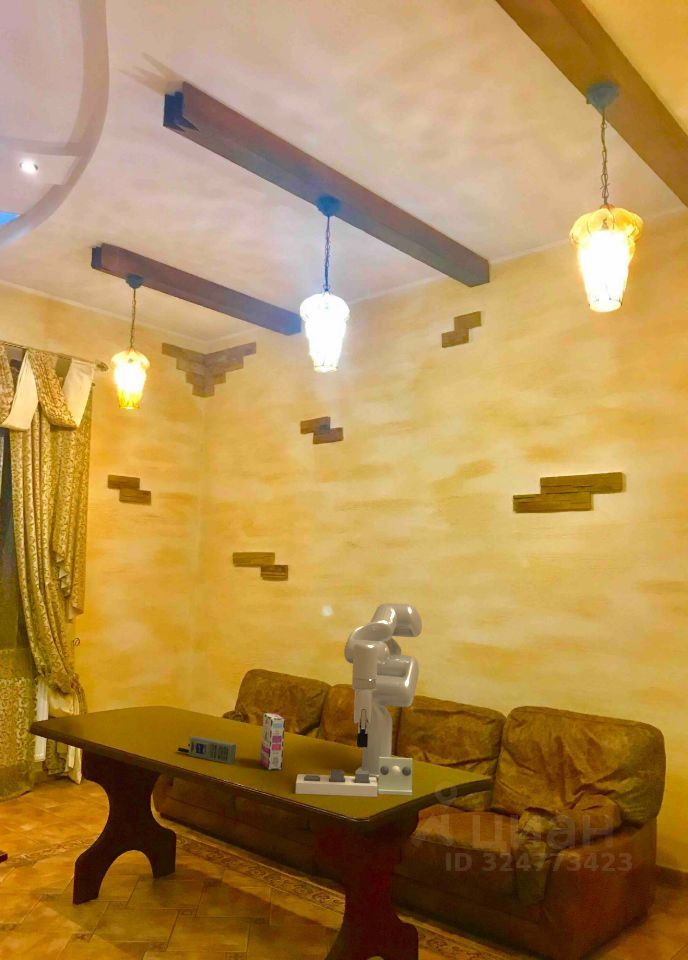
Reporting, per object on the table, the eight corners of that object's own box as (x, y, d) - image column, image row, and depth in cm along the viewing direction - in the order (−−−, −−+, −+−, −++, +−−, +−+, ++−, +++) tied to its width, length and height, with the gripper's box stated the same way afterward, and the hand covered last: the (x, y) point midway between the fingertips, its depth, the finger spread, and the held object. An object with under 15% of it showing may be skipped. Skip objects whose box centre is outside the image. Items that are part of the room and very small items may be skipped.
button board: (375, 787, 220) (375, 777, 220) (377, 796, 210) (377, 786, 210) (297, 784, 220) (298, 774, 220) (295, 793, 210) (296, 782, 210)
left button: (318, 787, 217) (318, 775, 217) (318, 790, 213) (318, 779, 213) (305, 786, 217) (305, 775, 217) (304, 790, 213) (305, 778, 213)
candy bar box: (282, 770, 236) (285, 718, 239) (268, 770, 235) (271, 718, 237) (274, 762, 247) (276, 712, 249) (259, 762, 245) (262, 712, 247)
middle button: (343, 781, 217) (343, 769, 218) (343, 784, 213) (343, 773, 214) (330, 780, 217) (330, 769, 218) (330, 784, 213) (330, 772, 214)
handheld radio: (229, 765, 240) (174, 753, 253) (236, 764, 243) (181, 752, 256) (231, 744, 242) (177, 734, 254) (237, 743, 244) (183, 733, 257)
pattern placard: (410, 791, 217) (411, 757, 218) (412, 795, 213) (412, 760, 215) (377, 790, 217) (378, 756, 218) (378, 793, 213) (379, 758, 215)
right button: (368, 782, 217) (368, 770, 218) (368, 785, 213) (369, 774, 214) (354, 781, 217) (355, 770, 218) (355, 785, 213) (355, 773, 214)
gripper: (352, 680, 227) (349, 740, 224) (352, 687, 212) (349, 751, 210) (375, 681, 227) (373, 741, 224) (377, 688, 212) (375, 752, 209)
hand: (362, 746), depth 217 cm, fingers closed
